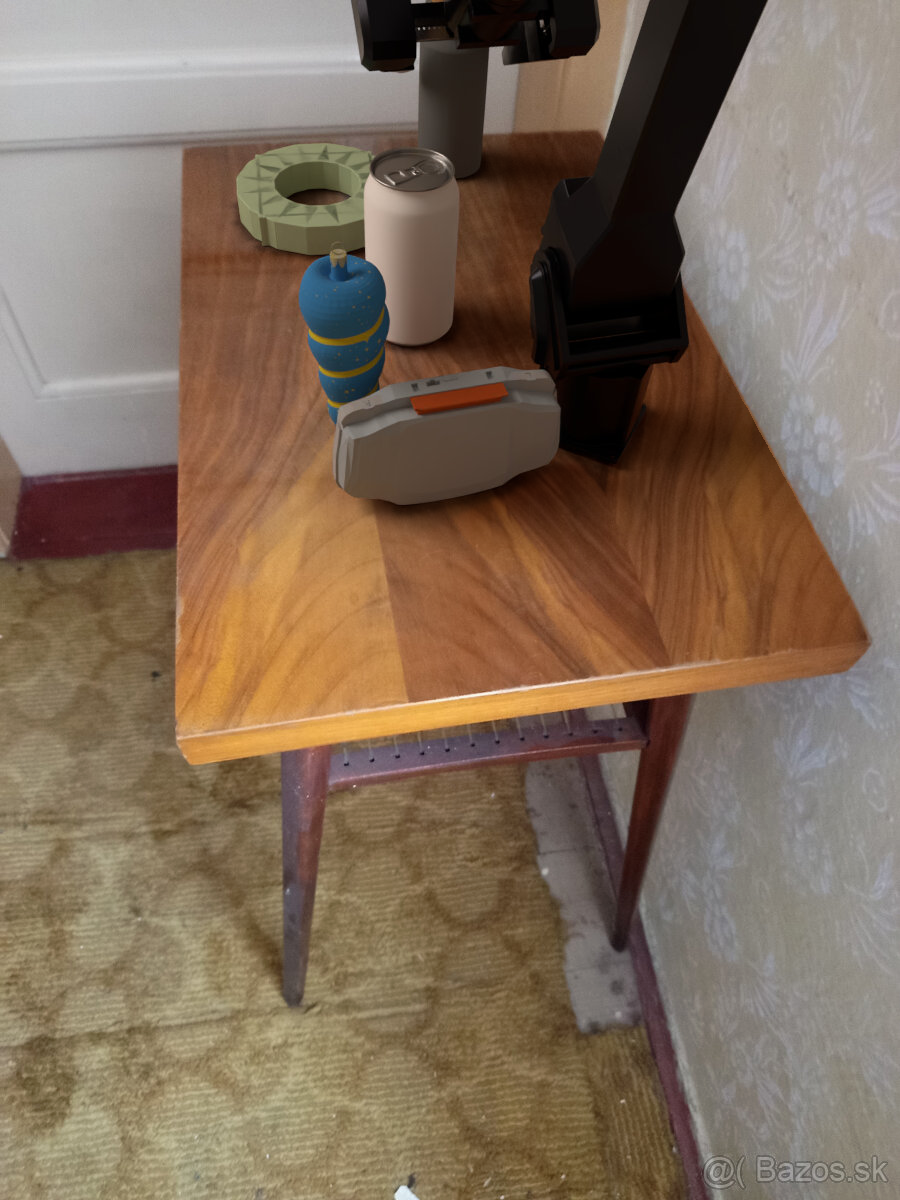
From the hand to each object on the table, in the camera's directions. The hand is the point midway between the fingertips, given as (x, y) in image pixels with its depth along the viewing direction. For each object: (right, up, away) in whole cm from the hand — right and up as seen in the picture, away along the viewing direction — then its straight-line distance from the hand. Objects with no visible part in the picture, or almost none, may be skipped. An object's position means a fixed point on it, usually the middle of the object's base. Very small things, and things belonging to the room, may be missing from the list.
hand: (452, 62), depth 78 cm
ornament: (-7, -36, -17) cm, 40 cm away
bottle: (0, -5, +7) cm, 9 cm away
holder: (-11, -12, +1) cm, 17 cm away
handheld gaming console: (0, -38, -18) cm, 42 cm away
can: (-3, -25, -8) cm, 26 cm away
